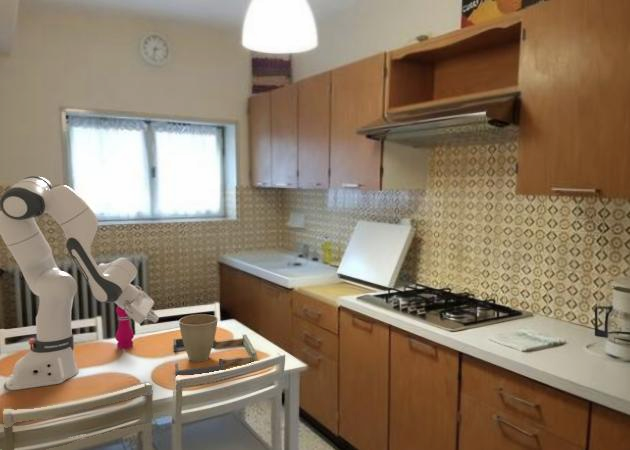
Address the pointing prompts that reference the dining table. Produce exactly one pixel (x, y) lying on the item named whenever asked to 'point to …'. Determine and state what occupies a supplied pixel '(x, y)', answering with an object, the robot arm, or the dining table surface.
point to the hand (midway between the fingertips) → (157, 320)
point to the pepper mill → (124, 330)
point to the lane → (235, 342)
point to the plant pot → (198, 335)
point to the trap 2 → (199, 369)
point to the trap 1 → (180, 345)
